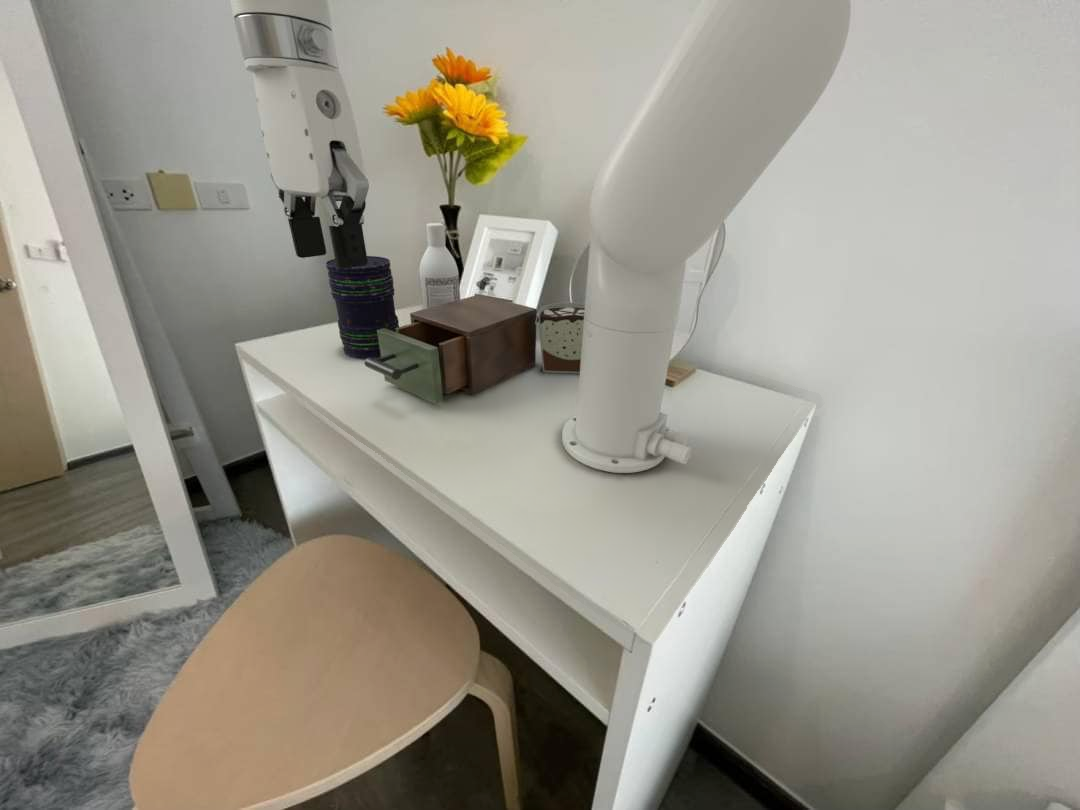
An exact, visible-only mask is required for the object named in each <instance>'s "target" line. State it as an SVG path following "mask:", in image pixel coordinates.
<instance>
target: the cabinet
mask: <svg viewBox="0 0 1080 810" xmlns="http://www.w3.org/2000/svg"><path fill="white" fill-rule="evenodd" d="M537 314H538V311H537V308H535V307H530V306H527V305H523V304H519V303H516V302H515V303H514V302H511V301H507V300H504V299H498V298H495V297H491V296H487V295H483V294H476V295H472V296H468V297H464V298H460V300H457V301H453V302H449V303H446V304H442V305H438V306H435V307H431V308H427V309H423V308H422V309H419V310H416V311H412V312H410V313H409V315H410V324H412V323H415V322H418V321H421V322H424V323H427V324H430V325H434V326H437V327H440V328H443V329H446V330H449V331H452V332H455V333H458V334H461V335H464V336H466V344H467V361H468V378H469V384H468V385H466V386H464V387H462V388H460V389H458V390H459V391H461V392H464V393H466V394H468V395H471V396H475V395H477V394H479V393H482V392H483V391H485V390H488V389H489V388H491V387H493V386H496V385H497V384H499V383H501V382H503V381H505V380H508V379H509V378H513V377H514V376H517V375H518V374H519V373H522V372H524V371H526V370H528V369H530V368H532V367H535V366H536V362H537V361H536V359H537V358H536V354H537V323H536V324H535V321H536V317H537Z"/></svg>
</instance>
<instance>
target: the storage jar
mask: <svg viewBox="0 0 1080 810" xmlns="http://www.w3.org/2000/svg"><path fill="white" fill-rule="evenodd" d="M367 261H368V262H367V264H366V265H364V266H358V267H352V268H345V269H341V268H338V267H337V265H336V260H335V258H332V259H329V260H327V261H326V262H325V266H326V269H327V270H328V271H327V275H328V283H329V287H330V290H331V291H330V293H331V296H332V299H333V300H334V301H335V307H336V312H337V316H338V317H337V318H338V320H337V327H338V329H339V331H338V332H339V337H340V340H341V343H342V346H343V348H342V349H343V353H344V355H345V356H347V357H348V358H352V359H358V360H359V359H360V360H366V359H367V358H368V357H372V358H374V359H376V358H379V357H381V353H380V347H379V341H378V334H377V330H379V329H382V328H385V329H388V330H391V331H394V332H396V329H395V328H398V327H400V323H399V322H400V321H399V317H398V315H397V314H396V307H395V300H394V299H395V298H394V296H395V287H394V277H393V275H392V269H391V260H390V259H389V258H386V257H384V256H383V257H382V256H374V255H373V256H372V255H367Z"/></svg>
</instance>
